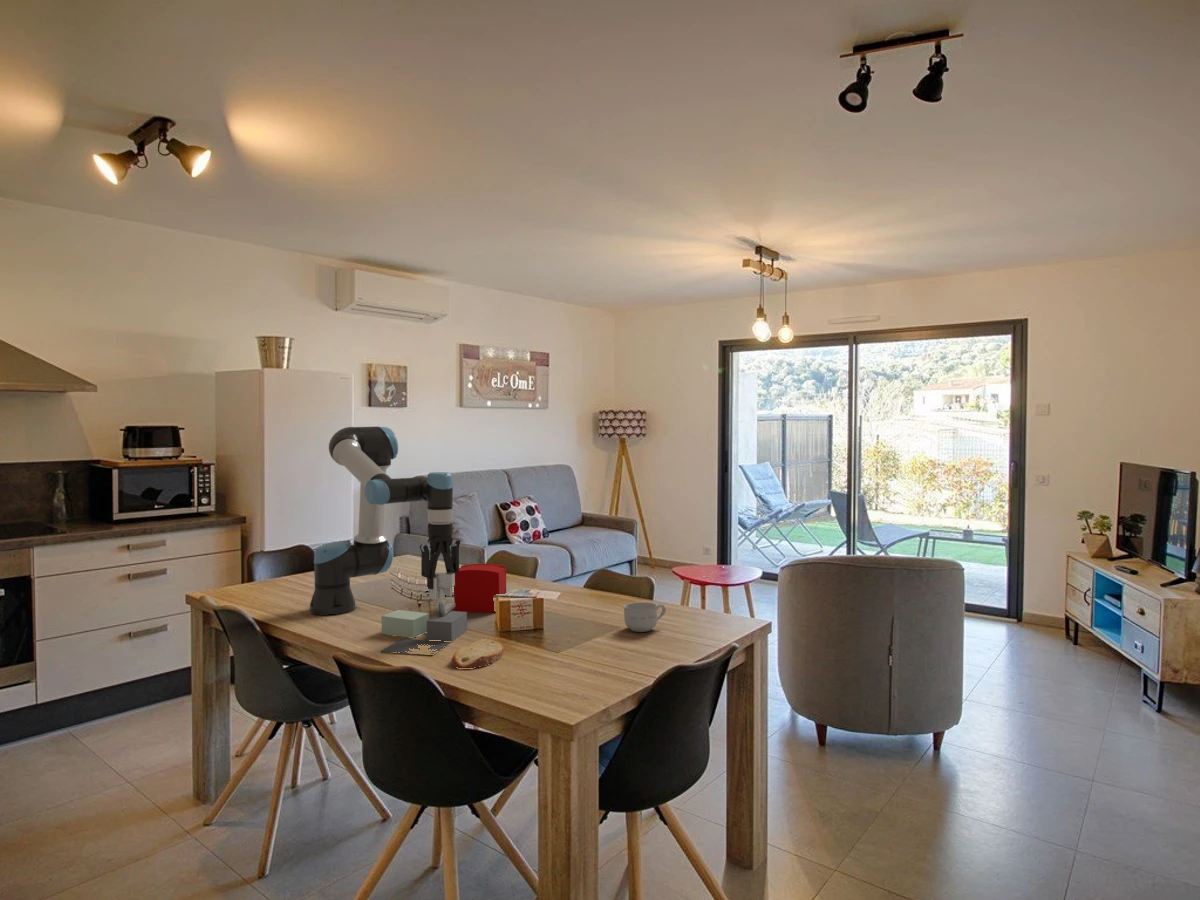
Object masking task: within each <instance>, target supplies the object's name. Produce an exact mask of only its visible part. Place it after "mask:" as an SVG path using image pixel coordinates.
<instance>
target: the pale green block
mask: <svg viewBox="0 0 1200 900" xmlns="http://www.w3.org/2000/svg"><path fill="white" fill-rule="evenodd" d="M429 619H430V613H426V612H419V611H413V610H403V609H395V610H394V611H391V612H389V613H386V614H383V615H381V635H382V634H387V635H386V636H390V635H395V636H394V637H397V636H403V637H402V638H404V637H413V638H414V637H416V636H418V635H420V634H423V633H425V632H427V620H429ZM425 634H426V633H425ZM423 635H424V634H423ZM416 638H417V637H416ZM414 639H415V638H414Z"/></svg>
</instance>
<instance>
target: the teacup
mask: <svg viewBox="0 0 1200 900" xmlns="http://www.w3.org/2000/svg"><path fill="white" fill-rule="evenodd" d="M659 608H661V609H662V610H661V612H660V613H659V615H658V609H659ZM666 610H667V609H666V607H665V605H664V604H662V603H657V604H656V603H654V602H648V601H647V602H645V601H643V602H642V601H636V602H630V603H626V604H624V605H623V615H624V616H623V617H624V624H625V626H626V627H627V628H628V629H629V630H630V631H632V632H636V633H637V632H638V633H643V632H650V631H652V630H653V629H654V628H655V626H656V625H657V624H658V621H659V620H661V619H662V618H663V616H664V615H665V614H666Z"/></svg>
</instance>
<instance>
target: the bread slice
mask: <svg viewBox="0 0 1200 900" xmlns="http://www.w3.org/2000/svg"><path fill="white" fill-rule="evenodd" d="M503 654H505V648H504V646H503V644H502V643H501V642H499V641H496V640H493V639H489V638H488V639H487V638H482V639H479V640H475V641H473V642H470V643H469V644H466V645H465V646H464V645H463V647H460V648H459V649H457V650H456V651H455V652H454V654H453V655H452V658H451V661H450V662H451V664H452V666H453V667H454V666H455V667H458V668H474V667H479V666H485V665H488V664H491V663H493V662H495V661H497V660H498V661H500V660H501V659H502V657H503V656H504V655H503ZM502 655H503V656H502ZM501 656H502V657H501ZM500 658H501V659H500ZM498 661H497V662H498ZM495 663H496V662H495ZM493 664H494V663H493ZM491 665H492V664H491ZM488 666H489V665H488ZM455 667H454V668H455ZM485 667H486V666H485Z"/></svg>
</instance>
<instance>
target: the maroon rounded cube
mask: <svg viewBox="0 0 1200 900" xmlns="http://www.w3.org/2000/svg"><path fill="white" fill-rule="evenodd" d="M505 593H506V594H507V567H506V566H505V565H500V564H492V563H471V564H464V565H461V566H459V571H458V572H456V575H455V586H454V596H453V598H454V599H453V600H454V602H453V603H456V606H455V607H454V610H455V611H459V612H467V613H468V612H471V613H472V612H473V613H495V612H494V601H493V596H494V595H496V594H505Z"/></svg>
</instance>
